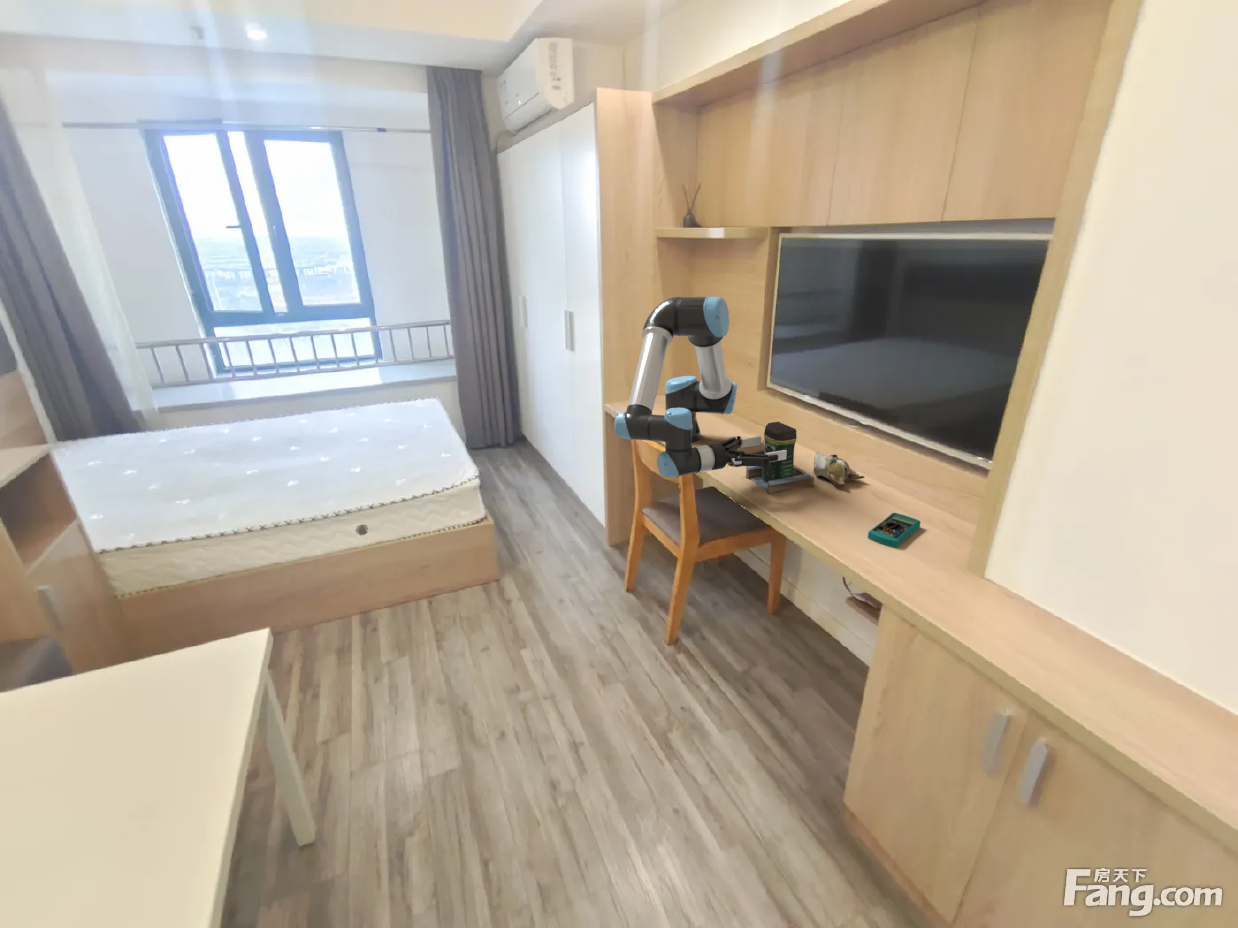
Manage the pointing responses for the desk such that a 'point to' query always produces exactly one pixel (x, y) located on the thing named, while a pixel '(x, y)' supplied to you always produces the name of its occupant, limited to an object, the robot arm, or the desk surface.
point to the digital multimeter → (894, 529)
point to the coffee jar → (778, 440)
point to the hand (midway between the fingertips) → (772, 447)
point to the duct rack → (779, 485)
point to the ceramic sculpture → (834, 469)
